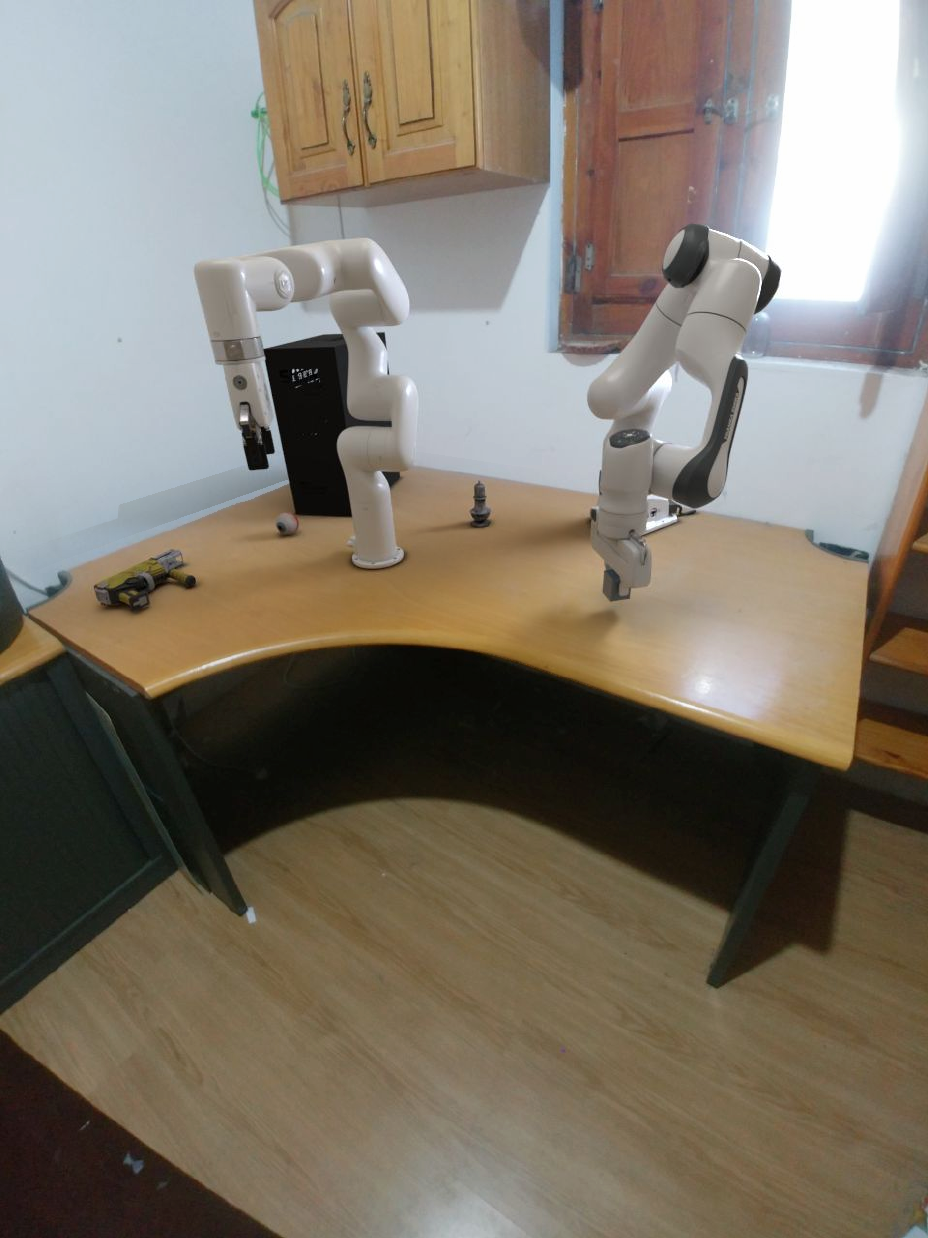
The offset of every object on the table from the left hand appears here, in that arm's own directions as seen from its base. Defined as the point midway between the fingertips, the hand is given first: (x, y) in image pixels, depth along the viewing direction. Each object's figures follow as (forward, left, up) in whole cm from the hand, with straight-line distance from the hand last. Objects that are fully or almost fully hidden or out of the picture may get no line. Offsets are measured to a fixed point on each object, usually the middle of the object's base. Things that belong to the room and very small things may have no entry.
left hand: (262, 461), depth 102 cm
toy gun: (-44, -2, -34) cm, 56 cm away
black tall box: (-50, +69, -34) cm, 92 cm away
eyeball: (-42, +35, -34) cm, 65 cm away
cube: (+50, +38, -31) cm, 70 cm away
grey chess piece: (+1, +66, -34) cm, 74 cm away
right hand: (+50, +38, -29) cm, 69 cm away
